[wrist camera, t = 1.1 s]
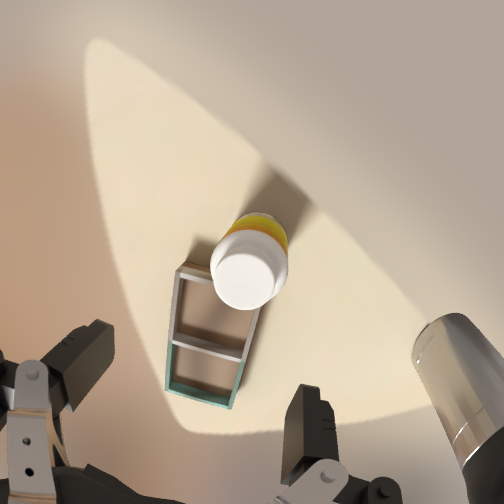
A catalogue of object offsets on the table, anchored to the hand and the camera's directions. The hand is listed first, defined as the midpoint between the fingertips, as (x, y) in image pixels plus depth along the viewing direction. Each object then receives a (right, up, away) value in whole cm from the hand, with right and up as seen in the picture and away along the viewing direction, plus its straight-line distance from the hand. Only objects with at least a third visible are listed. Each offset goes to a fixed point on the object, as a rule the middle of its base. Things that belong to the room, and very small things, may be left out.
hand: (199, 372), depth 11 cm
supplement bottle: (+3, +6, +17) cm, 18 cm away
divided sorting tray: (-2, -5, +21) cm, 22 cm away
